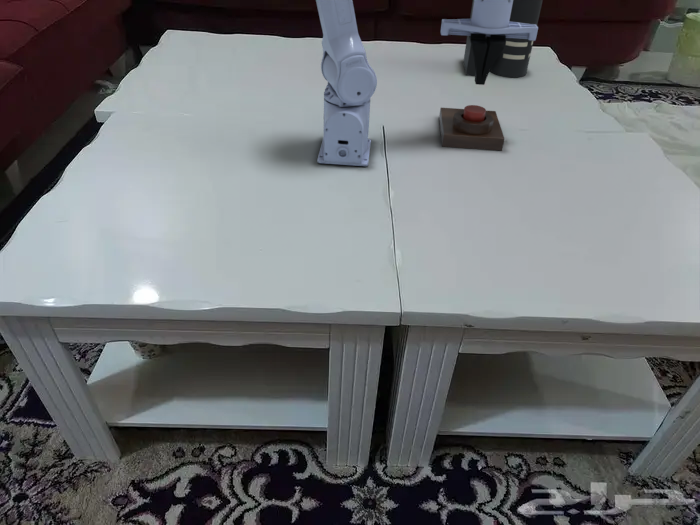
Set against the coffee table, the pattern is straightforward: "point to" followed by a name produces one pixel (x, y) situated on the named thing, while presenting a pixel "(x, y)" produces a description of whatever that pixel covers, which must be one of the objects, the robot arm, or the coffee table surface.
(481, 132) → the switch block
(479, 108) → the button
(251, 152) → the coffee table surface
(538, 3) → the light fixture
